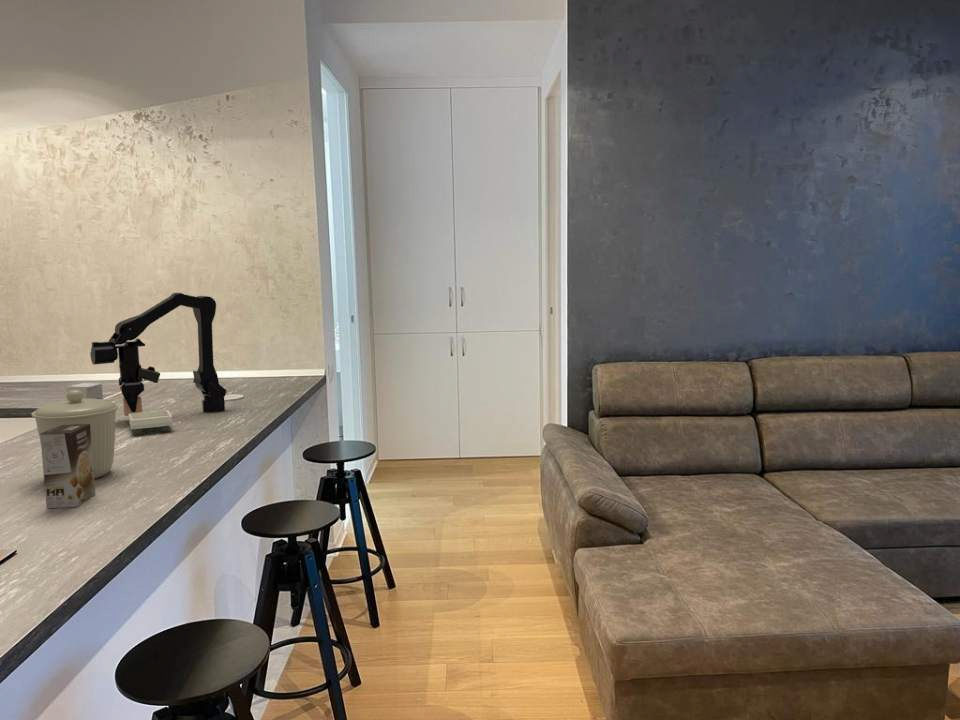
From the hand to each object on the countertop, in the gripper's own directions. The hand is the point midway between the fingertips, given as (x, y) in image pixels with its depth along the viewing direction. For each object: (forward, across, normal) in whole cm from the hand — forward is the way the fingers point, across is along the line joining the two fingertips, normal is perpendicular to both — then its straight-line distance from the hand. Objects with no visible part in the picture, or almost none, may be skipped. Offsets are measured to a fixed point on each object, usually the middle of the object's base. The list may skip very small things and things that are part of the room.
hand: (133, 410), depth 229 cm
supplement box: (+5, +11, +13) cm, 18 cm away
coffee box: (+5, -75, +17) cm, 77 cm away
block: (+1, 0, 0) cm, 1 cm away
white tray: (+4, -17, -4) cm, 18 cm away
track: (+5, -17, -9) cm, 20 cm away
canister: (+5, -55, +15) cm, 57 cm away
